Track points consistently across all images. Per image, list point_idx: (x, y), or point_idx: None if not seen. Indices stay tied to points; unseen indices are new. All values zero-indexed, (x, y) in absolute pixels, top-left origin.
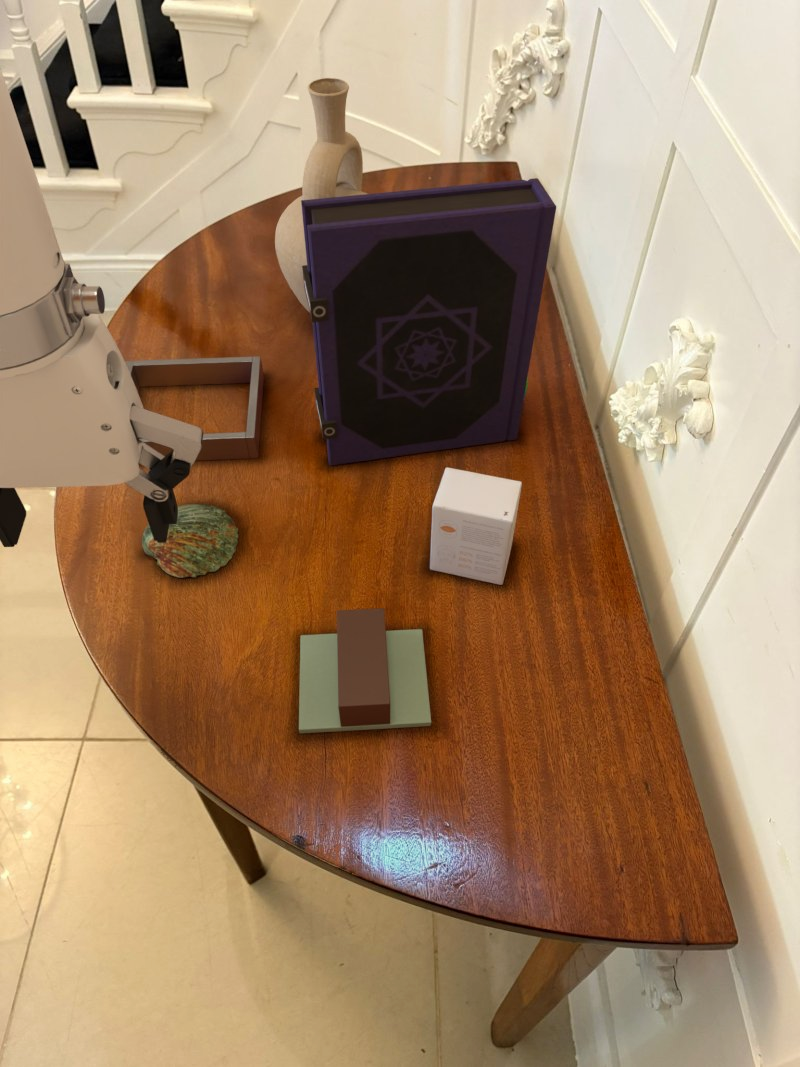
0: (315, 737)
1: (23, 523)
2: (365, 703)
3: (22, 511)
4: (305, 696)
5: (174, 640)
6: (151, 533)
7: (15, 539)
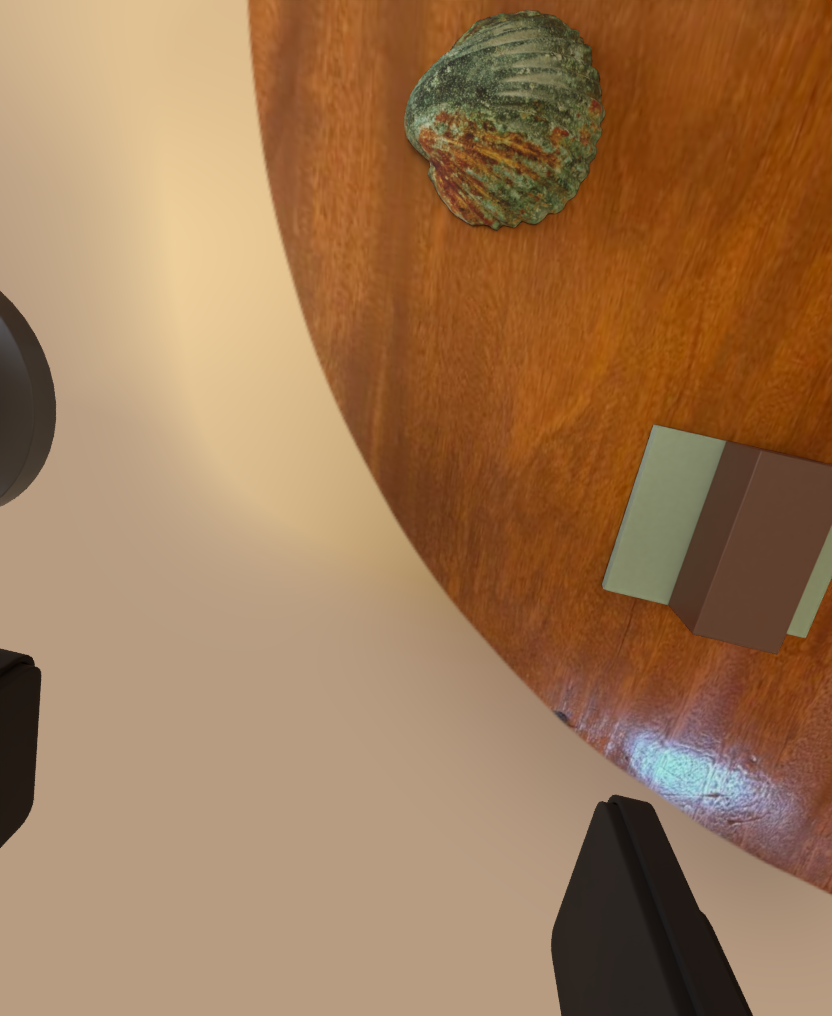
0: (622, 596)
1: (37, 715)
2: (738, 642)
3: (11, 706)
4: (630, 540)
5: (440, 363)
6: (429, 111)
7: (16, 815)
